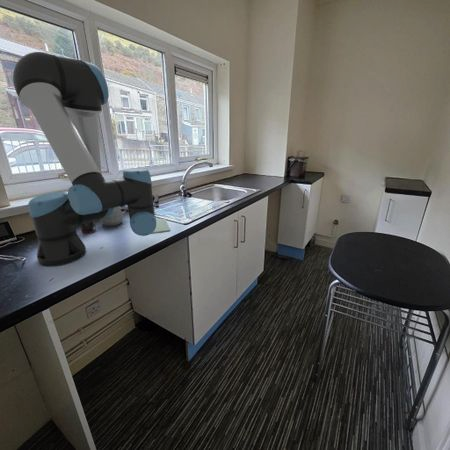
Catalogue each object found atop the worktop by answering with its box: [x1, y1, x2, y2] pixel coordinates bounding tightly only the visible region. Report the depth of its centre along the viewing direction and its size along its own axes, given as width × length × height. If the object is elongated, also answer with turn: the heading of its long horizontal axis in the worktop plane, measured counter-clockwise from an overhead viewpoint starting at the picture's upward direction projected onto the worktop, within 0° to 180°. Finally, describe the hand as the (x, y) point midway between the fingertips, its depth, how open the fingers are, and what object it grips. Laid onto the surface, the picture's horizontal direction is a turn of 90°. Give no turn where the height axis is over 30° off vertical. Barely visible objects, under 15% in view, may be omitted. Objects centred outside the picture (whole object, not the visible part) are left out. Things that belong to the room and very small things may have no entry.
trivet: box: [150, 218, 171, 235], centre depth 118 cm, size 13×17×1 cm
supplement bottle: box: [79, 220, 97, 235], centre depth 110 cm, size 6×6×11 cm
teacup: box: [99, 206, 127, 227], centre depth 121 cm, size 14×11×8 cm
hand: (138, 195), depth 104 cm, fingers closed on beech block, 8 cm apart
